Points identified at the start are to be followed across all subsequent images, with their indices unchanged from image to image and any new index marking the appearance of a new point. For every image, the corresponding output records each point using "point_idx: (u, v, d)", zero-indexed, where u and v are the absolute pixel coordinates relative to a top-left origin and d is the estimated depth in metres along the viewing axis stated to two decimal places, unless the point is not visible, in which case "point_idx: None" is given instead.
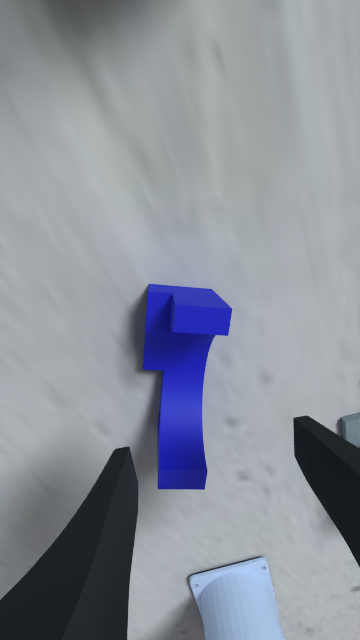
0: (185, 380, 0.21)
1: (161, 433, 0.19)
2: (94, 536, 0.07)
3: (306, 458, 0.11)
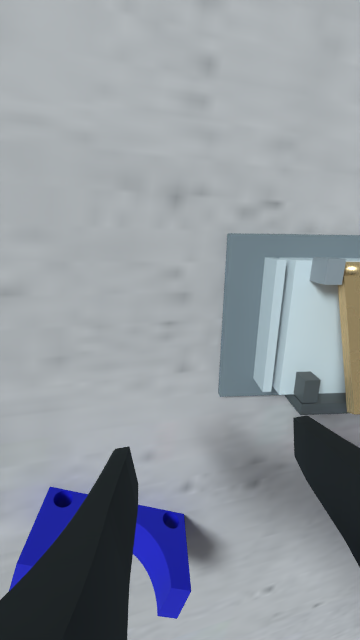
0: None
1: (149, 575, 0.23)
2: (94, 536, 0.07)
3: (306, 458, 0.11)
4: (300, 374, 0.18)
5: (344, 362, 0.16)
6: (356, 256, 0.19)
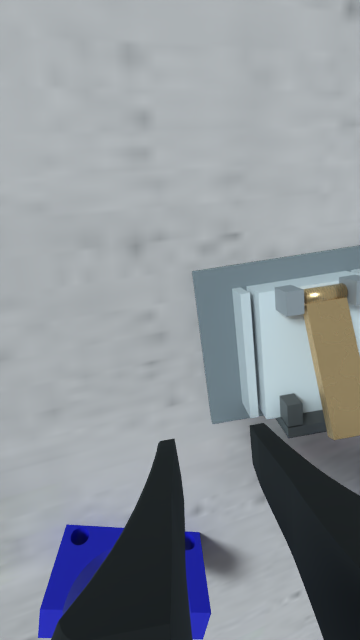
0: None
1: None
2: (164, 523, 0.08)
3: (260, 466, 0.11)
4: (283, 398, 0.19)
5: (319, 388, 0.16)
6: (323, 272, 0.19)
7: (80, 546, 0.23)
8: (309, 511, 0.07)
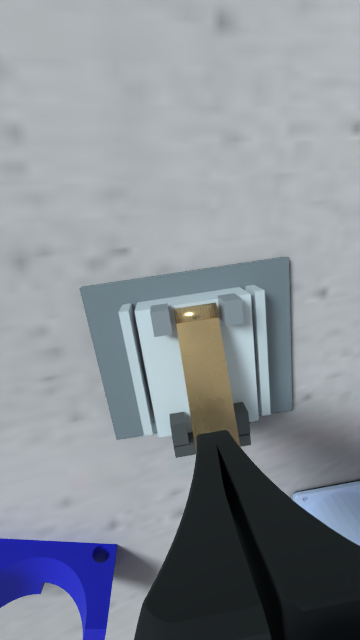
0: (50, 569, 0.24)
1: None
2: (223, 512, 0.08)
3: (220, 473, 0.11)
4: (170, 417, 0.18)
5: (189, 409, 0.16)
6: (216, 288, 0.19)
7: None
8: (249, 522, 0.07)
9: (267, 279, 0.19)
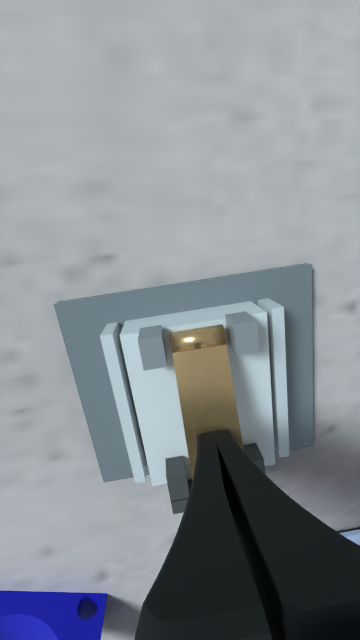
0: (27, 627, 0.20)
1: None
2: (223, 513, 0.08)
3: None
4: (167, 463, 0.15)
5: None
6: (223, 303, 0.15)
7: None
8: (249, 522, 0.07)
9: (285, 291, 0.16)
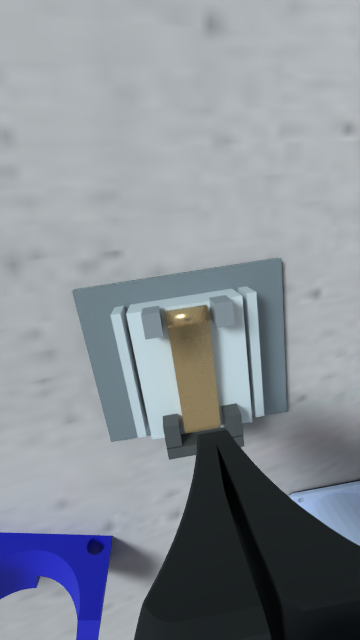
0: (44, 562, 0.24)
1: None
2: (223, 512, 0.08)
3: (220, 473, 0.11)
4: (163, 419, 0.18)
5: None
6: (209, 290, 0.19)
7: None
8: (249, 522, 0.07)
9: (260, 280, 0.19)
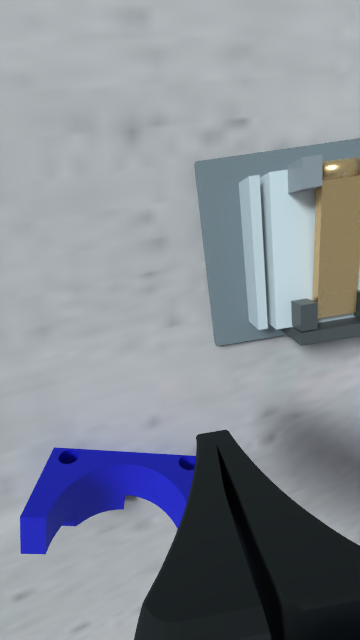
0: (135, 479, 0.22)
1: (173, 520, 0.21)
2: (223, 512, 0.08)
3: None
4: (295, 302, 0.17)
5: (314, 272, 0.17)
6: None
7: (68, 465, 0.21)
8: (249, 522, 0.07)
9: None
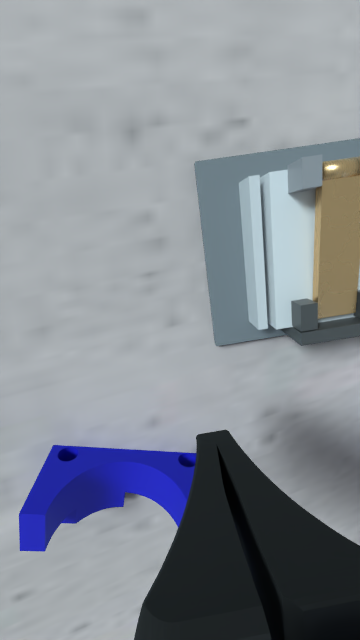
0: (135, 476, 0.22)
1: (172, 517, 0.21)
2: (223, 512, 0.08)
3: None
4: (295, 302, 0.17)
5: (314, 272, 0.17)
6: None
7: (68, 462, 0.21)
8: (249, 522, 0.07)
9: None
